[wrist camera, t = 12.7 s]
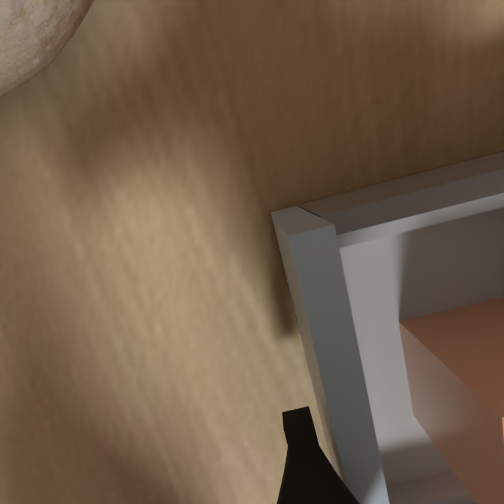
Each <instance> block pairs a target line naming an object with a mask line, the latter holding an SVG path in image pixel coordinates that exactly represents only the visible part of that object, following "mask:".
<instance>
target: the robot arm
mask: <svg viewBox="0 0 504 504" xmlns="http://www.w3.org/2000/svg"><path fill="white" fill-rule="evenodd" d="M282 416H283V427H284V432H285V436H286V440H287V444H288V450H287V456H286V463H285V469H284V474H283V478H282V483H281V488H280V492H279V497H278V501H277V504H360V503H359V502H358V501H357V500H356V498H355V497H354V496H353V494H352V493H351V492H350V490H349V489H348V488H347V486H346V485H345V484H344V482H343V481H342V479H341V478H340V477H339V475H338V474H337V472H336V471H335V470H334V468H333V467H332V465H331V464H330V462H329V461H328V459H327V457H326V456H325V454H324V453H323V451H322V449H321V448H320V446H319V443H318V440H317V436H316V432H315V428H314V424H313V420H312V416H311V413H310V409H309V406H308V407H303V408H299V409H294V410H290V411H286V412H282Z"/></svg>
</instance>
